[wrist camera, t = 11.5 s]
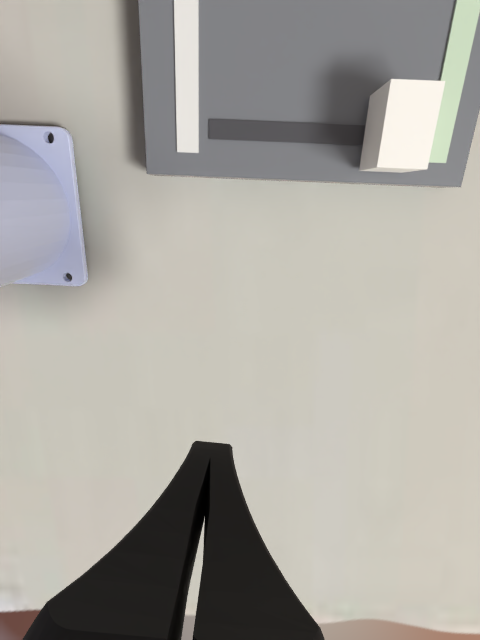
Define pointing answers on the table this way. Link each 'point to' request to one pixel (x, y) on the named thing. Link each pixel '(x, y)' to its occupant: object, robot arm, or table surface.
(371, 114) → the block
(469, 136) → the panel
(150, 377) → the table surface
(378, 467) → the table surface
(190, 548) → the robot arm
